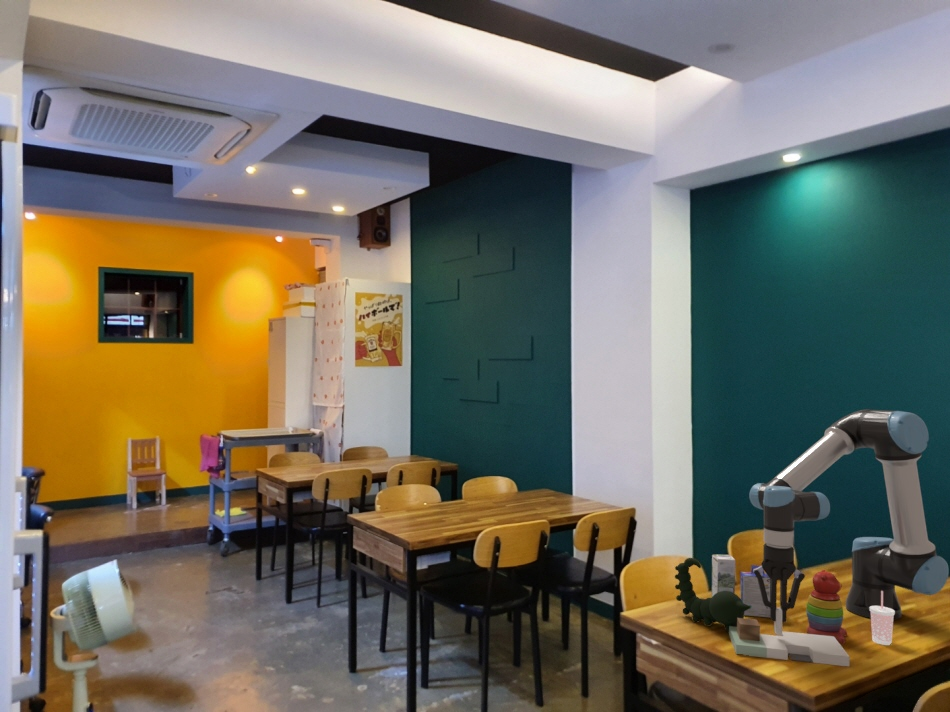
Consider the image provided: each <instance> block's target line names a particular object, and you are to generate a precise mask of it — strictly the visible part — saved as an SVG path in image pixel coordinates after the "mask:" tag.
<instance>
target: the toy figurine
mask: <svg viewBox="0 0 950 712" xmlns="http://www.w3.org/2000/svg"><path fill="white" fill-rule="evenodd" d="M693 566H696V567H697V568H698V569H701V568H702V566H701V563H700V562H699V560H697V558H694V557H688V558H686V559H685V560H684V561H683V562H681V563H679V564H678V565H676V566H674V569H675V571H677V574H675V575H674V578H675V580H678V581H679V582H678V584H675V586H674V588H675V590H679V591H680V592H679V594H678V595H677V596H675V597H676V601H677V602H683V603H684V606H685V607H684V608H682V613H683V615H685V616H687V615H690V613H691V615H692V621H693V622H694V623H699V622H700V621H703V622H702V623H703V624H704V625H706V626H707V627H710V626H712V625H713V623H718V624H721V625H723V628H724V630H725V631H726V633H728V634H729V626H734V627H737V618H745V615H744V612H745V611H746V610H748V609H750V606H749V605H746V604H744V603H743V602H742V600H741V597H740V596H739V595H737V594H736V593H733V592H730V591H720V592H718V593H716V594H715V595H714V596H713V597H706V598H702V597H699V596H698V595H696V594H697V593H696V591H695V590H694V585H693V582H692V581H691V579H692V576H691V573H690V572H689V571H690V568H691V567H693Z"/></svg>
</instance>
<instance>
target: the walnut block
mask: <svg viewBox="0 0 950 712" xmlns="http://www.w3.org/2000/svg"><path fill="white" fill-rule="evenodd" d="M760 631H761V625H760V624H759V622H758V620H757V619H754V618H753V619H752V618H745V617H744V618H737V633H738V636H739V638H740V639H743V640H753V641H760V634H761V632H760Z"/></svg>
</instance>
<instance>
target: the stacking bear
mask: <svg viewBox="0 0 950 712" xmlns="http://www.w3.org/2000/svg"><path fill="white" fill-rule="evenodd" d="M842 584H843V583H841V581H840V580H838V579H837V577H836V576H835V574H833V573H832V572H830V571H829V572H828V571H826V569H822V570H821V571H817V572H816V573H815V574H814V575H813V577H812V586H813V588H814V590H812V591H811V592H810V594H809V595H808V598H807V602H806V610H805V611H806V617H807V623H808V626H807V629H806V633H807V634H815V635H825V636H834V637H835V638H836V640H837V641H838V642H839V644H840V645H841V644H844V643H846V638H845V637H846V636H848V632H847V629H845V628H844V627H842V624H843V620H844V609H843V604H842V601H841V597H840V595H839V594H838V593H839V592H840V591H841V589H842V587H843V585H842Z"/></svg>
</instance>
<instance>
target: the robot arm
mask: <svg viewBox="0 0 950 712" xmlns="http://www.w3.org/2000/svg"><path fill="white" fill-rule="evenodd" d="M929 437H930V436H929V431H928V427H927V425H926V423H925V422H924V420H923V419H922V417H920V416H918V414H915V413H913V412H908V411H903V410H881V409H879V410H878V409H861V410H857V411H853V412H851V413H849V414H847V415H845V416H843V417H841V418H840V419H838V420H837V421H834V423H832V424H831V425H830V426H829V427H828V428H826V429H825V431H824V435H823V436H822V437H821V438H820V439H819V440H818V441H816V442H815V443H814V444H812V445H811V446H810V447H809V448H808V449H806V451H804V452H803V453H802V454H801V455H799V457H797V458H796V459H795V460H794V461H793V462H790V464H789V465H788V466H786V467H785V468H784V469H782V471H780V472H779V473H778V474H777V475H776V476H775V477H774V478H772V479H771V480H770V481H769V482H767V483H764V482H762V483H760V482H757V483H756V484H754V485H752V487H751V488H750V490H749V496H748V497H749V501H750V503H751V504H752V506H753V507H754V508H756V509H759V510H763V542H764V544H763V553H762V554H763V559H762V562H761V563H760V565H759V566H760V567H758V568H753V572H754V573H755V575H756V577H757V580H758V584H759V588H760V592H761V596H762V600H763V603H764V605H765V606H766V607H769V608H770V617H769V618H770V620H771V622H774V623H773V625H774V627H773V630H774V633H775V636H781V635H782V631H783V623H786V622H787V611H788V610H790V609H791V610H793V609H795V605H796V601H797V598H798V594H799V590H800V587H801V584H802V582H803V580H804V579H805V577H806V575H805V574H804V572H803V571H801V570H798V569H797V567H796V564H795V548H794V547H793V546H794V545H795V522H805V521H806V522H808V521H815V522H816V521H818V520H823V519H825V518H827V517H828V516H829V514H830V513H831V504H830V500H829V499H828V497H827V496H826V495H825V494H824V493H822V492H820V491H807V492H806V491H803V490H804V489H805V488H807V487H808V486H809V485H810V484H811V483H812V482H814V481H815V480H816V479H817V478H818V477H819V476H821V475H822V474H823V473H824V472H825V471H827V469H829V468H830V467H831V466H832V465H833V464H835V462H837V461H838V460H839V459H841V457H843V456H844V455H850V454H852V453H853V452H854V451H856V450H858V449H864V448H865V449H866V448H868V449H873V450H874V456H875V459H876V460H877V461H879V462H880V463H881V464H882V469H883V476H884V482H885V489H886V495H887V496H886V497H887V502H888V509H889V515H890V521H891V529H892V535H893V538H891V537H882V536H881V537H879V536H878V537H877V536H862V537H861V536H860V537H856V538H854V540H853V541H852V550H851V567H852V568H851V571H852V573H851V574H852V577H851V580H852V582H851V586H850V589H849V592H848V594H847V597H846V598H845V599H846V600H845V608H846V609H847V611H849V612H851V613H853V614H855V615H857V614H858V616H861V617H865V618H868V617H869V619H871V611H870V608H869V607H870V606H881V591H883V607H888V608H891V609H893V610H894V611H895V615H894V618H893V621H894V619H895V620H899V619H901V618H902V606H901V605H900V601H899V598H898V596H897V593H896V589H895V587H898V588H902V589H905V590H909V591H911V592H914V593H916V594H922V595H926V596H933V595H935V594H938V593H939V592H940V591H942V589H943V588H944V587H945V585H946V583H947V580H948V578H949V573H950V572H949V565H948V562H947V560H945V559H944V558H943V557H942V556H940V555H938V554H937V550H936V545H935V543H933V542H931V541H930V540H929V537H928V531H927V524H926V518H925V511H924V510H925V509H924V503H923V497H922V491H921V485H920V478H919V471H918V465H917V461H918V460H920V458H921V457H922V452H924V451H925V450H926V448H927V447H928V442H929V441H930V440H929ZM763 570H764V573H766V574H767V575H768V576H769V578H770V601H768V597H767V593H766V589H765V585H764V581H763V578H762V575H763ZM792 575H793V577H794V578H793V581H792V585H791V588H790V591H789V596H788V580H789V579H790V578H791V576H792ZM778 581H779V593H780V594H779V596H780V597H779V600H780V601H779V607H777V592H778V591H777V587H778Z"/></svg>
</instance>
